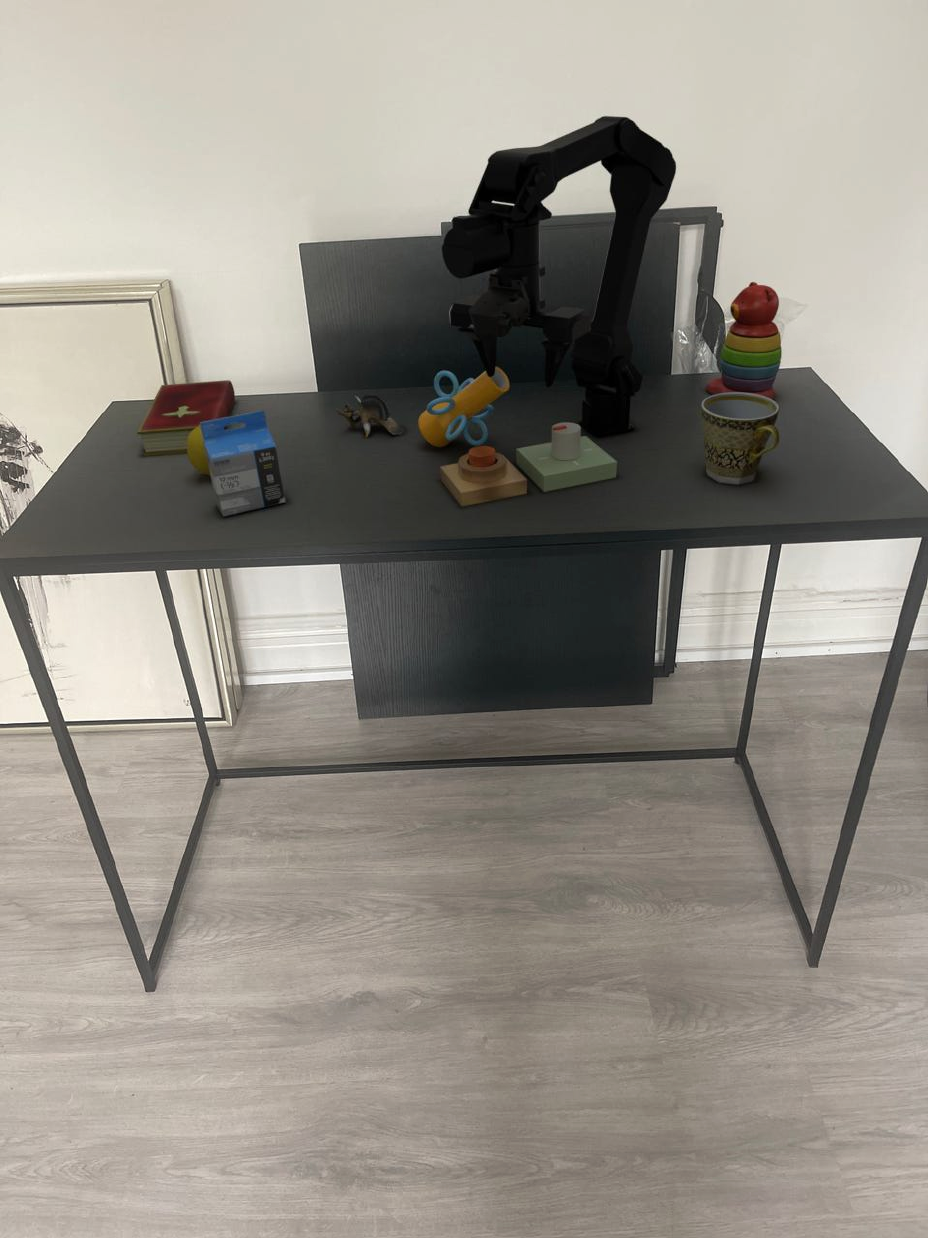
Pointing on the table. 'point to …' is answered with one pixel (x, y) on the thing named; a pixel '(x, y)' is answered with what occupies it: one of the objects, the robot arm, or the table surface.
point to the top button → (482, 456)
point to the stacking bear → (751, 345)
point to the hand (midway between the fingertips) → (519, 381)
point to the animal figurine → (371, 414)
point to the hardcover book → (183, 414)
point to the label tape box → (242, 463)
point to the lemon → (197, 451)
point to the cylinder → (461, 408)
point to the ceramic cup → (737, 434)
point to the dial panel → (566, 465)
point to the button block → (482, 481)
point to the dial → (566, 441)
